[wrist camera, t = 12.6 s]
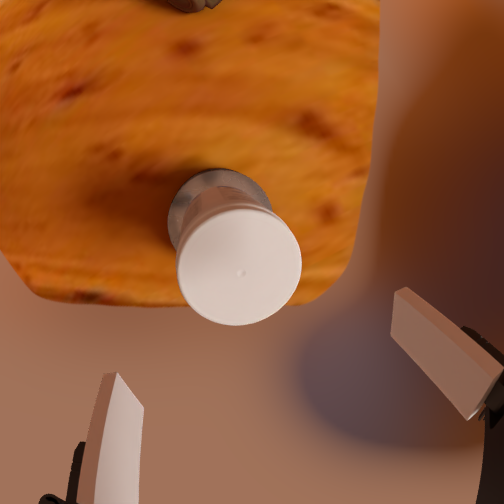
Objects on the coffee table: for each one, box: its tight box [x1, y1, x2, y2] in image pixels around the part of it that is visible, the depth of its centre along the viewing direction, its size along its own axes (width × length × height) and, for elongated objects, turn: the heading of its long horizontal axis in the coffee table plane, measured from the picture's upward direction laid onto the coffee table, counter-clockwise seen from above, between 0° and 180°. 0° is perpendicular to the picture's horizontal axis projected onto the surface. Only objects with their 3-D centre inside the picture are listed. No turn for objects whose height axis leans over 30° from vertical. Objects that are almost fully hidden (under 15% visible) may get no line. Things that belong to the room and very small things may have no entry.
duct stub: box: [168, 168, 272, 251], centre depth 35 cm, size 13×13×5 cm
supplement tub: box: [176, 186, 302, 325], centre depth 26 cm, size 10×10×15 cm
